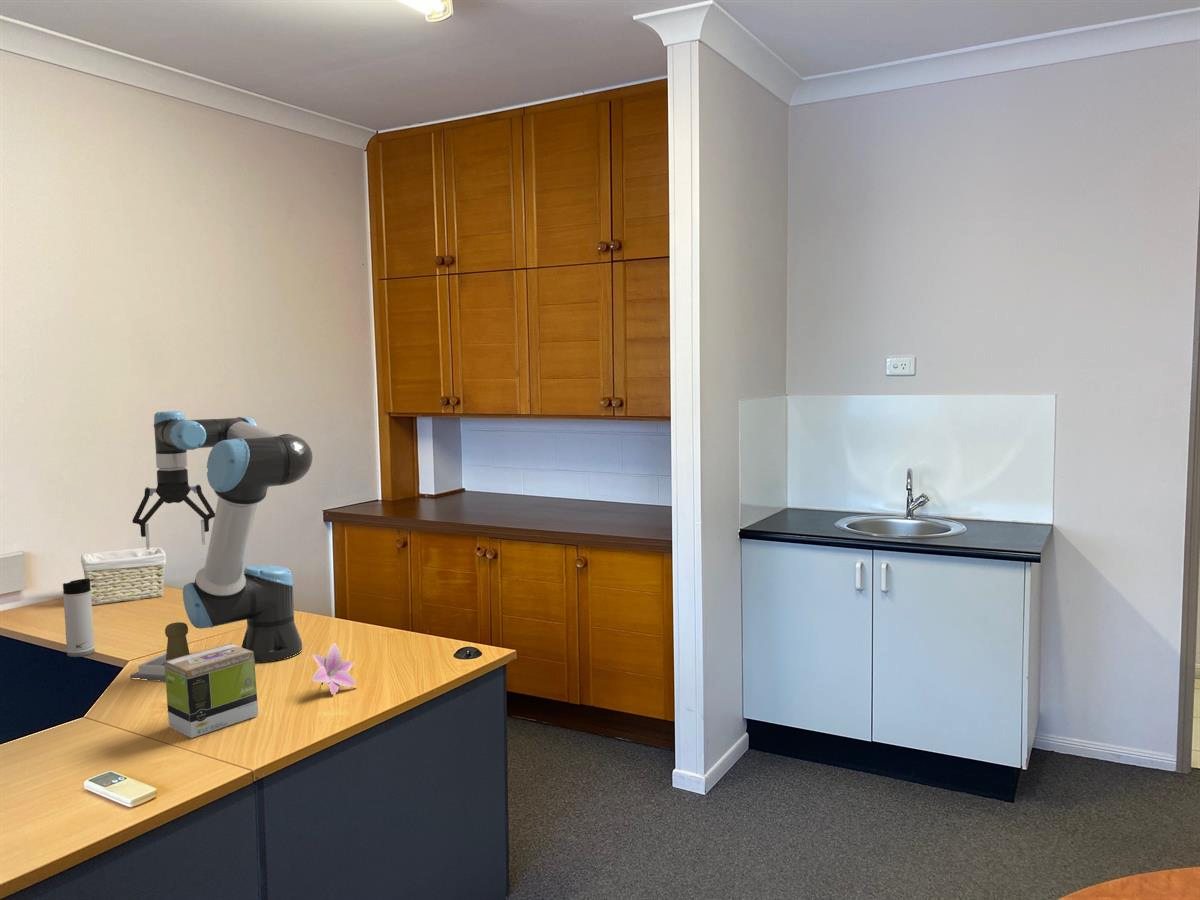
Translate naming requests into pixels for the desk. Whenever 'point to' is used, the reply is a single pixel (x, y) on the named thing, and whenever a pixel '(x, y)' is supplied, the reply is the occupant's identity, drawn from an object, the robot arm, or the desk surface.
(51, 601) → the desk surface
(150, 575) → the storage basket
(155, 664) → the grey square tray
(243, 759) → the desk surface
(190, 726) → the tea box
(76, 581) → the travel mug
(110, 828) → the desk surface
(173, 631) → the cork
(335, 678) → the lily
